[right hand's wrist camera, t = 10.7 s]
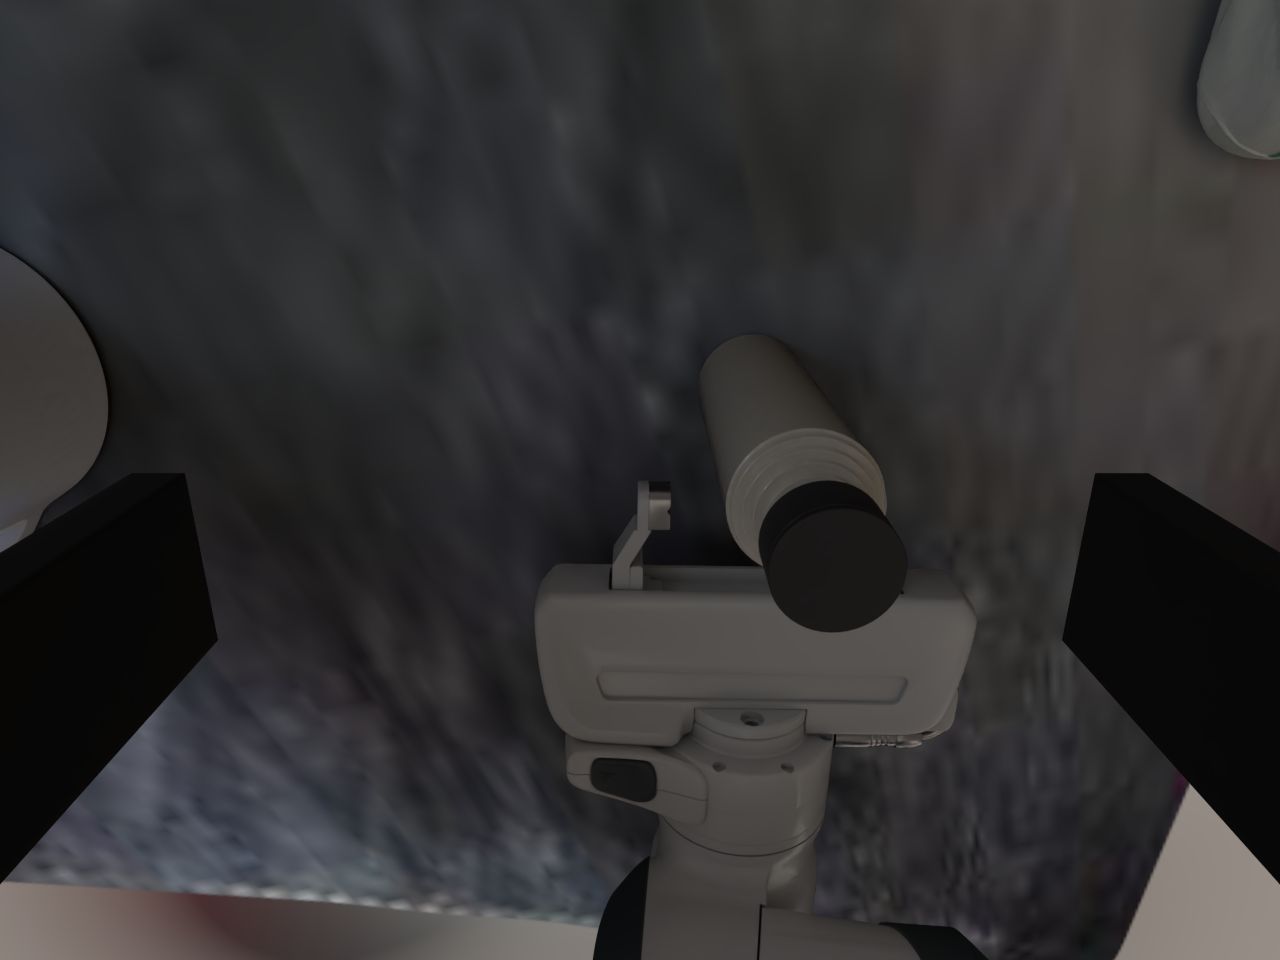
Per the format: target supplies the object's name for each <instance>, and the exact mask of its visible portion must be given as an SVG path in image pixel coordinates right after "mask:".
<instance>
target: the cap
mask: <svg viewBox="0 0 1280 960" xmlns="http://www.w3.org/2000/svg"><path fill="white" fill-rule="evenodd" d="M758 548H759V554H760V558H761V561H762V565H763V568H764V571H765V575H766V578H767V582H768V585H769V589H770V592H771V595H772V597H773V599H774V601H775V603H776V604H777V606H778V607H779V609H780V610H781V611H782V612H783V613H784V614H785V615H786V616H787V617H788V618H789V619H791V620H792V621H794V622H795V623H797V624H799V625H801V626H803V627H805V628H808V629H811V630H814V631H819V632H828V633H836V632H845V631H850V630H854V629H858V628H860V627H863V626H865V625H867V624H869V623H871V622H873V621H874V620H876V619H877V618H879V617H880V616H882V615H883V614H884V613H885V612H886V611H887V610H888V609H889V608H890V607H891V606H892V605H893V604H894V602H895V601H896V599H897V598H898V596H899V594H900V592H901V591H902V588H903V586H904V583H905V579H906V574H907V556H906V552H905V548H904V546H903V543H902V541H901V539H900V538H899V536H898V534H897V533H896V531H895V530H894V528H893V527H892V525H891V524H890V522H889V521H888V519H887V518H886V516H885V515H884V513H883V512H882V510H881V509H880V508H879V506H878V505H877V503H876V502H875V501H874V500H873V499H872V498H871V497H870V496H869V495H868V494H867V493H865V492H864V491H863V490H861V489H859V488H857V487H855V486H853V485H850V484H848V483H844V482H839V481H830V480H825V481H815V482H810V483H807V484H803V485H801V486H798V487H796V488H794V489H792V490H790V491H789V492H787V493H786V494H785V495H783V496H782V497H781V498H779V499H778V500H777V501H776V502H775V503H774V505H773V506H772V507H771V508H770V509H769V511H768V513H767V514H766V516H765V518H764V520H763V522H762V525H761V528H760V532H759V539H758Z"/></svg>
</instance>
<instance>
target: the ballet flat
mask: <svg viewBox="0 0 1280 960" xmlns="http://www.w3.org/2000/svg"><path fill="white" fill-rule="evenodd" d="M1197 111H1198V116H1199V120H1200V123H1201V125H1202V127H1203V130H1204V131H1205V133H1206V135H1207V136H1208V137H1209V138H1210V139H1211V141H1212V142H1213V143H1214V144H1216V145H1217V146H1218V147H1220V148H1221V149H1223V150H1225V151H1226V152H1228V153H1231V154H1234V155H1237V156H1241V157H1245V158H1252V159H1262V160H1272V159H1279V158H1280V0H1222V1H1221V4H1220V7H1219V11H1218V14H1217V17H1216V21H1215V24H1214V27H1213V29H1212V33H1211V38H1210V41H1209V44H1208V47H1207V50H1206V52H1205V55H1204V58H1203V61H1202V65H1201V69H1200V74H1199V79H1198V81H1197Z"/></svg>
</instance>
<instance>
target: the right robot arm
mask: <svg viewBox="0 0 1280 960" xmlns="http://www.w3.org/2000/svg"><path fill="white" fill-rule="evenodd" d="M217 641H218V638H217V633H216V628H215V623H214V618H213V613H212V608H211V603H210V598H209V593H208V588H207V583H206V578H205V573H204V568H203V563H202V558H201V552H200V547H199V542H198V537H197V532H196V527H195V522H194V517H193V512H192V507H191V502H190V497H189V492H188V487H187V482H186V477H185V473H131V474H130V475H128V476H126V477H125V478H123V479H121V480H120V481H118V482H116V483H115V484H113V485H111V486H110V487H108V488H106V489H105V490H103V491H101V492H100V493H98V494H97V495H95V496H93V497H92V498H90V499H88V500H87V501H85V502H83V503H82V504H80V505H78V506H77V507H75V508H73V509H72V510H70V511H68V512H67V513H65V514H63V515H62V516H60V517H58V518H57V519H55V520H53V521H52V522H50V523H48V524H47V525H45V526H43V527H42V528H40V529H39V530H37V531H35V532H34V533H32V534H30V535H29V536H27V537H25V538H24V539H22V540H20V541H19V542H17V543H15V544H14V545H12V546H10V547H9V548H7V549H5V550H4V551H2V552H0V884H1V883H2V882H3V881H4V879H5V878H6V877H7V876H8V875H9V874H10V873H11V872H12V870H13V869H14V868H15V867H16V866H17V865H18V864H19V863H20V862H21V860H22V859H23V858H24V857H25V856H26V855H27V854H28V853H29V851H30V850H31V849H32V848H33V847H34V846H35V845H36V844H37V842H38V841H39V840H40V839H41V838H42V837H43V836H44V835H45V833H46V832H47V831H48V830H49V829H50V828H51V827H52V826H53V824H54V823H55V822H56V821H57V820H58V819H59V818H60V817H61V816H62V814H63V813H64V812H65V811H66V810H67V809H68V808H69V807H70V805H71V804H72V803H73V802H74V801H75V800H76V799H77V798H78V796H79V795H80V794H81V793H82V792H83V791H84V790H85V789H86V787H87V786H88V785H89V784H90V783H91V782H92V781H93V780H94V779H95V777H96V776H97V775H98V774H99V773H100V772H101V771H102V770H103V768H104V767H105V766H106V765H107V764H108V763H109V762H110V761H111V759H112V758H113V757H114V756H115V755H116V754H117V753H118V752H119V750H120V749H121V748H122V747H123V746H124V745H125V744H126V743H127V741H128V740H129V739H130V738H131V737H132V736H133V735H134V734H135V733H136V731H137V730H138V729H139V728H140V727H141V726H142V725H143V724H144V722H145V721H146V720H147V719H148V718H149V717H150V716H151V715H152V713H153V712H154V711H155V710H156V709H157V708H158V707H159V706H160V704H161V703H162V702H163V701H164V700H165V699H166V698H167V697H168V696H169V694H170V693H171V692H172V691H173V690H174V689H175V688H176V687H177V685H178V684H179V683H180V682H181V681H182V680H183V679H184V678H185V676H186V675H187V674H188V673H189V672H190V671H191V670H192V669H193V667H194V666H195V665H196V664H197V663H198V662H199V661H200V660H201V658H202V657H203V656H204V655H205V654H206V653H207V652H208V651H209V650H210V648H211V647H212V646H213V645H214V644H215V643H216V642H217ZM1062 641H1063V642H1064V643H1065V644H1066V645H1067V646H1068V647H1069V648H1070V650H1071V651H1072V652H1073V653H1074V654H1075V655H1076V656H1077V657H1078V658H1079V660H1080V661H1081V662H1082V663H1083V664H1084V665H1085V666H1086V667H1087V669H1088V670H1089V671H1090V672H1091V673H1092V674H1093V675H1094V676H1095V678H1096V679H1097V680H1098V681H1099V682H1100V683H1101V684H1102V685H1103V687H1104V688H1105V689H1106V690H1107V691H1108V692H1109V693H1110V694H1111V696H1112V697H1113V698H1114V699H1115V700H1116V701H1117V702H1118V703H1119V704H1120V706H1121V707H1122V708H1123V709H1124V710H1125V711H1126V712H1127V713H1128V715H1129V716H1130V717H1131V718H1132V719H1133V720H1134V721H1135V722H1136V724H1137V725H1138V726H1139V727H1140V728H1141V729H1142V730H1143V731H1144V733H1145V734H1146V735H1147V736H1148V737H1149V738H1150V739H1151V740H1152V741H1153V743H1154V744H1155V745H1156V746H1157V747H1158V748H1159V749H1160V750H1161V752H1162V753H1163V754H1164V755H1165V756H1166V757H1167V758H1168V759H1169V761H1170V762H1171V763H1172V764H1173V765H1174V766H1175V767H1176V768H1177V770H1178V771H1179V772H1180V773H1181V774H1182V775H1183V776H1184V777H1185V779H1186V780H1187V781H1188V782H1189V783H1190V784H1191V785H1192V786H1193V787H1194V789H1195V790H1196V791H1197V792H1198V793H1199V794H1200V795H1201V796H1202V798H1203V799H1204V800H1205V801H1206V802H1207V803H1208V804H1209V805H1210V807H1211V808H1212V809H1213V810H1214V811H1215V812H1216V813H1217V814H1218V815H1219V817H1220V818H1221V819H1222V820H1223V821H1224V822H1225V823H1226V824H1227V826H1228V827H1229V828H1230V829H1231V830H1232V831H1233V832H1234V833H1235V835H1236V836H1237V837H1238V838H1239V839H1240V840H1241V841H1242V842H1243V844H1244V845H1245V846H1246V847H1247V848H1248V849H1249V850H1250V851H1251V853H1252V854H1253V855H1254V856H1255V857H1256V858H1257V859H1258V860H1259V861H1260V863H1261V864H1262V865H1263V866H1264V867H1265V868H1266V869H1267V870H1268V872H1269V873H1270V874H1271V875H1272V876H1273V877H1274V878H1275V879H1276V881H1277V882H1278V883H1279V884H1280V552H1278V551H1276V550H1275V549H1273V548H1271V547H1270V546H1268V545H1266V544H1265V543H1263V542H1261V541H1260V540H1258V539H1256V538H1255V537H1253V536H1251V535H1250V534H1248V533H1246V532H1245V531H1243V530H1241V529H1240V528H1238V527H1237V526H1235V525H1233V524H1232V523H1230V522H1228V521H1227V520H1225V519H1223V518H1222V517H1220V516H1218V515H1217V514H1215V513H1213V512H1212V511H1210V510H1208V509H1207V508H1205V507H1203V506H1202V505H1200V504H1198V503H1197V502H1195V501H1193V500H1192V499H1190V498H1188V497H1187V496H1185V495H1183V494H1182V493H1180V492H1179V491H1177V490H1175V489H1174V488H1172V487H1170V486H1169V485H1167V484H1165V483H1164V482H1162V481H1160V480H1159V479H1157V478H1155V477H1154V476H1152V475H1150V474H1149V473H1095V477H1094V482H1093V487H1092V492H1091V497H1090V502H1089V507H1088V512H1087V517H1086V522H1085V527H1084V532H1083V537H1082V542H1081V547H1080V552H1079V558H1078V563H1077V568H1076V573H1075V578H1074V583H1073V588H1072V593H1071V598H1070V603H1069V608H1068V613H1067V618H1066V623H1065V628H1064V633H1063V638H1062Z"/></svg>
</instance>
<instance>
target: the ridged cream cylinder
mask: <svg viewBox="0 0 1280 960" xmlns="http://www.w3.org/2000/svg"><path fill="white" fill-rule="evenodd" d="M698 395H699V400H700V405H701V409H702V413H703V418H704V422H705V427H706V431H707V435H708V440H709V444H710V448H711V453H712V457H713V461H714V466H715V470H716V475H717V479H718V483H719V488H720V492H721V496H722V501H723V505H724V509H725V514H726V518H727V522H728V526H729V529H730V532H731V534H732V536H733V538H734V540H735V541H736V543H737V544H738V546H739V547H740V548H741V549H742V551H743V552H744V553H745V554H746V555H747V556H749V557H750V558H751V559H752V560H753V561H755V562H756V563H758V564H760V565H761V566H763V565H762V561H761V558H760V554H759V548H758V539H759V532H760V528H761V525H762V522H763V520H764V518H765V516H766V514H767V513H768V511H769V509H770V508H771V507H772V506H773V505H774V503H775V502H776V501H777V500H778V499H779V498H781V497H782V496H783V495H785V494H786V493H787V492H789V491H790V490H792V489H794V488H796V487H798V486H801V485H803V484H807V483H810V482H815V481H825V480H830V481H839V482H844V483H848V484H850V485H853V486H855V487H857V488H859V489H861V490H863V491H864V492H865V493H867V494H868V495H869V496H870V497H871V498H872V499H873V500H874V501H875V502H876V503H877V505H878V506H879V508H880V509H881V510H882V512H883V513H884V509H885V502H886V492H885V484H884V479H883V476H882V473H881V471H880V468H879V466H878V465H877V463H876V461H875V459H874V458H873V457H872V455H871V454H870V453H869V451H868V450H867V449H866V448H865V446H864V445H863V444H862V442H861V441H860V440H859V438H858V437H857V436H856V435H855V433H854V432H853V431H852V429H851V428H850V427H849V425H848V424H847V423H846V422H845V420H844V419H843V418H842V416H841V415H840V414H839V412H838V411H837V410H836V408H835V407H834V406H833V405H832V403H831V402H830V401H829V399H828V398H827V397H826V395H825V394H824V393H823V392H822V390H821V389H820V388H819V386H818V385H817V384H816V382H815V381H814V380H813V378H812V377H811V376H810V375H809V373H808V372H807V371H806V369H805V368H804V367H803V365H802V364H801V363H800V362H799V360H798V359H797V358H796V356H795V355H794V354H793V353H792V351H791V350H790V349H789V348H788V347H787V346H786V345H784V344H783V343H781V342H780V341H778V340H776V339H774V338H771V337H768V336H764V335H757V334H749V335H742V336H738V337H735V338H732V339H730V340H728V341H726V342H724V343H723V344H721V345H720V346H718V347H717V348H716V349H715V350H714V351H713V352H712V353H711V354H710V355H709V357H708V358H707V360H706V361H705V363H704V365H703V367H702V370H701V372H700V376H699V381H698Z"/></svg>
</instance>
